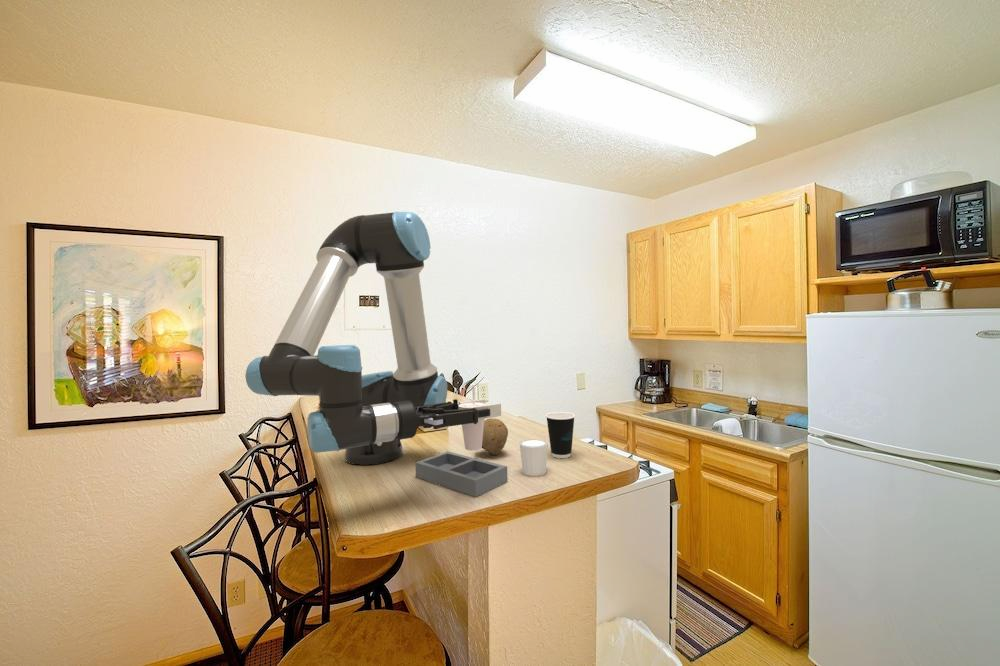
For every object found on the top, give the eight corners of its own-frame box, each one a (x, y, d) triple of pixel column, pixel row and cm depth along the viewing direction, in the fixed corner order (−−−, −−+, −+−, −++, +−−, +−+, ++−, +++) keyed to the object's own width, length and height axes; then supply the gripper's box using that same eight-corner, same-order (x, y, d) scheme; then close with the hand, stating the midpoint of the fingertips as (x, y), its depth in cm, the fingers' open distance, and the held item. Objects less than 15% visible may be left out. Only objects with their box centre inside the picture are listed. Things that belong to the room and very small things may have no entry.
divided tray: (415, 477, 98) (415, 462, 98) (448, 464, 106) (447, 451, 106) (476, 497, 85) (475, 480, 85) (507, 481, 93) (507, 466, 93)
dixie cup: (572, 461, 105) (571, 419, 105) (542, 458, 108) (541, 417, 108) (579, 452, 112) (578, 412, 112) (551, 449, 116) (550, 411, 115)
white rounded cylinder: (547, 477, 95) (546, 447, 95) (518, 476, 96) (517, 446, 96) (549, 467, 102) (549, 439, 102) (522, 466, 103) (521, 438, 103)
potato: (474, 460, 108) (473, 422, 108) (476, 450, 117) (475, 415, 117) (509, 459, 109) (507, 421, 108) (508, 449, 117) (507, 414, 117)
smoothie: (493, 447, 92) (492, 384, 92) (472, 454, 87) (470, 388, 87) (474, 442, 96) (473, 382, 96) (453, 448, 92) (451, 386, 92)
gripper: (380, 430, 90) (472, 416, 103) (410, 451, 74) (516, 431, 86) (379, 396, 90) (471, 386, 103) (409, 410, 74) (515, 396, 86)
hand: (491, 407), depth 94 cm, fingers closed on smoothie, 6 cm apart
